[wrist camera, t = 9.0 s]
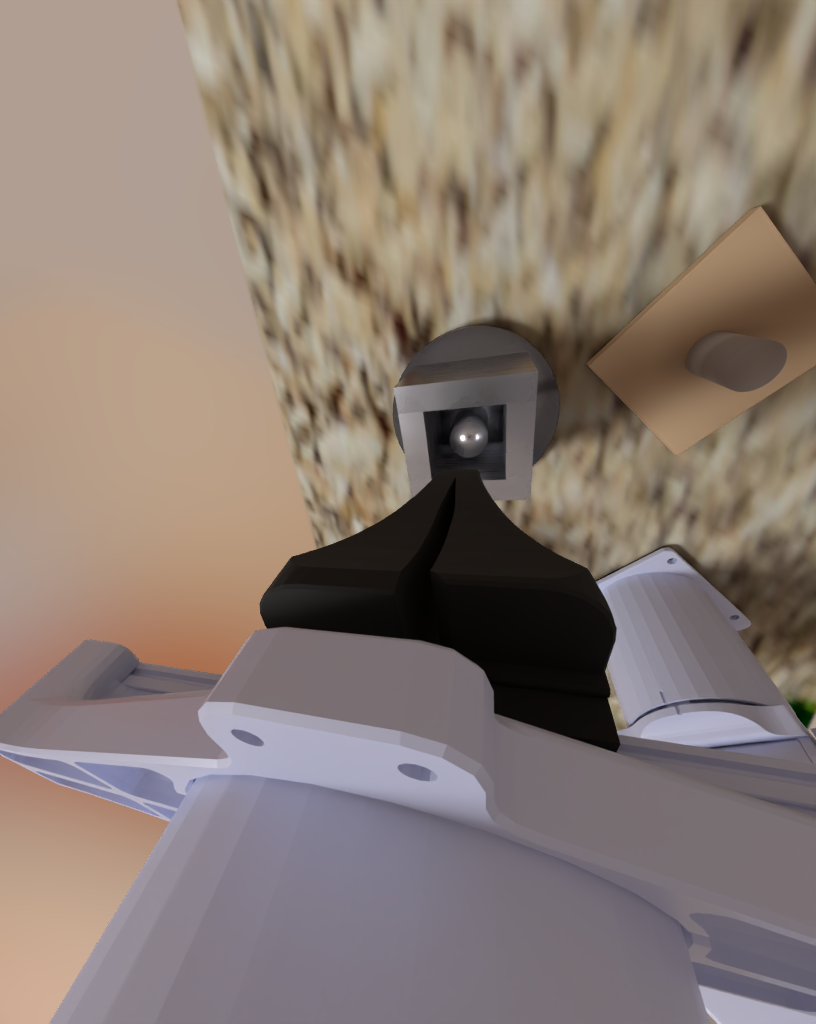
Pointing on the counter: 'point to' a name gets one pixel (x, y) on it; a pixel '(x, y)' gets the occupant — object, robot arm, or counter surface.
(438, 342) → the hub
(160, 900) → the robot arm
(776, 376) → the stand
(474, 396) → the square metal tube
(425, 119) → the counter surface
